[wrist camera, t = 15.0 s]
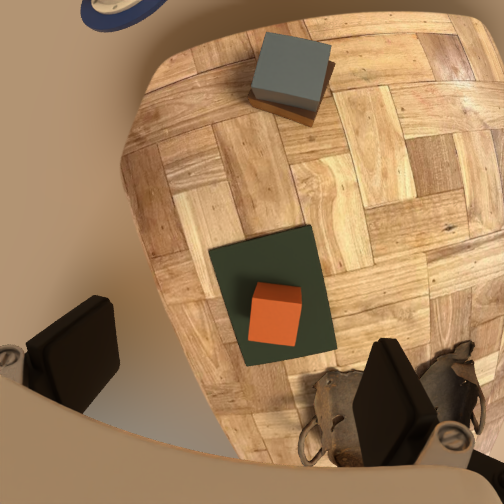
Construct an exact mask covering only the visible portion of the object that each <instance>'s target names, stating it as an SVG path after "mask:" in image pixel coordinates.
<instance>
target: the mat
mask: <svg viewBox="0 0 504 504" xmlns="http://www.w3.org/2000/svg"><path fill="white" fill-rule="evenodd" d="M209 254H210V257H211V261H212V264H213V267H214V270H215V273H216V277H217V280H218V283H219V286H220V289H221V292H222V295H223V298H224V302H225V305H226V308H227V311H228V314H229V317H230V320H231V323H232V326H233V329H234V332H235V335H236V338H237V341H238V343H239V346H240V349H241V352H242V355H243V358H244V361H245V364H246V366H254V365H260V364H266V363H272V362H278V361H283V360H289V359H294V358H299V357H304V356H309V355H313V354H318V353H323V352H327V351H332V350H336V349H337V343H336V338H335V333H334V327H333V322H332V317H331V312H330V307H329V302H328V297H327V292H326V287H325V283H324V278H323V274H322V269H321V265H320V260H319V256H318V251H317V247H316V243H315V239H314V234H313V230H312V226H311V225H307V226H303V227H299V228H295V229H291V230H287V231H283V232H279V233H275V234H271V235H267V236H263V237H259V238H255V239H251V240H247V241H243V242H240V243H236V244H232V245H228V246H224V247H220V248H216V249H212V250H210V251H209ZM258 282H262V283H270V284H278V285H287V286H295V287H301V297H302V307H301V313H300V319H299V325H298V331H297V336H296V342H295V346H287V345H279V344H271V343H263V342H256V341H249V340H248V335H249V325H250V315H251V305H252V297H253V294H254V291H255V288H256V286H257V283H258Z"/></svg>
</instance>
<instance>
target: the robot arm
mask: <svg viewBox="0 0 504 504" xmlns="http://www.w3.org/2000/svg"><path fill="white" fill-rule="evenodd" d="M140 1H142V0H91V3H92V6H93V8H94V9H95V10H96V11H98V12H99V13H101V14H108V15H110V14H116V13H119V12H122V11H125V10H127V9H129V8H131V7H133V6H134V5H136V4H137V3H139V2H140ZM26 347H27V350H28V351H27V352H26V353H25V354H24V351H23V350H22V348H20V347H19V346H16V345H3V346H0V504H504V463H503V462H500V461H498V460H496V459H494V458H491V457H489V456H487V455H485V454H483V453H481V452H478V451H476V450H474V449H473V448H474V444H475V439H474V435H473V433H472V432H471V430H470V429H469V428H468V427H466V426H465V425H463V424H461V423H459V422H456V421H444V422H441V423H440V422H439V419H438V417H437V415H438V414H437V412H436V410H435V408H434V406H433V404H432V402H431V400H430V398H429V397H428V395H427V393H426V391H425V389H424V387H423V385H422V383H421V382H420V380H419V378H418V376H417V374H416V372H415V371H414V369H413V367H412V365H411V363H410V362H409V360H408V358H407V356H406V355H405V353H404V351H403V349H402V348H401V346H400V344H399V342H398V341H397V339H392V338H380V339H379V340H378V342H374V343H373V345H372V348H371V352H370V355H369V358H368V361H367V364H366V367H365V369H364V372H363V375H362V378H361V381H360V383H359V386H358V389H357V392H356V394H355V397H354V400H353V404H352V409H353V414H354V419H355V424H356V429H357V433H358V438H359V444H360V449H361V454H362V459H363V465H364V467H310V466H294V465H282V464H272V463H263V462H255V461H248V460H241V459H235V458H229V457H224V456H218V455H213V454H208V453H203V452H199V451H194V450H190V449H186V448H182V447H177V446H173V445H170V444H166V443H163V442H159V441H156V440H152V439H149V438H146V437H143V436H140V435H137V434H133V433H130V432H127V431H125V430H121V429H119V428H116V427H113V426H111V425H108V424H105V423H103V422H100V421H98V420H95V419H93V418H90V417H88V416H86V415H83V412H84V411H85V410H86V409H87V407H88V406H89V405H90V404H91V402H92V401H93V400H94V399H95V398H96V396H97V395H98V394H99V393H100V392H101V390H102V389H103V388H104V387H105V386H106V384H107V383H108V382H109V381H110V379H111V378H112V377H113V376H114V375H115V373H116V372H117V371H118V369H119V366H120V359H119V352H118V344H117V336H116V328H115V318H114V308H113V304H112V303H111V302H110V300H109V299H108V298H106V297H102V296H97V295H93V296H92V297H90V298H89V299H87V300H86V301H84V302H83V303H81V304H80V305H78V306H77V307H76V308H74V309H73V310H71V311H70V312H68V313H67V314H65V315H64V316H62V317H61V318H60V319H58V320H57V321H55V322H54V323H53V324H51V325H50V326H48V327H47V328H46V329H44V330H43V331H41V332H40V333H39V334H37V335H36V336H35V337H33V338H32V339H30V340H29V341H28V342H26Z"/></svg>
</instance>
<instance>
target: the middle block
mask: <svg viewBox="0 0 504 504" xmlns="http://www.w3.org/2000/svg"><path fill="white" fill-rule="evenodd" d="M330 51H331V45H328V44H324V43H320V42H316V41H312V40H307V39H302V38H298V37H293V36H287V35H282V34H276V33H270V32H266V34H265V37H264V41H263V44H262V48H261V51H260V55H259V59H258V62H257V66H256V70H255V73H254V77H253V81H252V84H251V88H252V90H253V93H254V95H255V97H256V99H261V100H266V101H271V102H276V103H280V104H285V105H289V106H294V107H298V108H302V109H306V110H310V111H314V112H316V110H317V107H318V104H319V101H320V97H321V92H322V88H323V83H324V79H325V74H326V70H327V65H328V60H329V56H330Z"/></svg>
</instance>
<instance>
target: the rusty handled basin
mask: <svg viewBox="0 0 504 504" xmlns="http://www.w3.org/2000/svg"><path fill="white" fill-rule="evenodd" d="M474 347H475V343H474V342H472V341H469V342H467V343H463V344H460V345H459V346H458V347H457V348H455V352H454V353H450V354H444V355H442V356H440V357H438V358H437V360H438V361H437V362H435V363H434V364H433V365H431V366H430V367H429V368H428V370H427V371H426V372H425V373H424V375H423V376H422V377H421V378H420V379H419V380H420V382H421V383H422V385H423V387H424V389H425V391H426V393H427V395H428V397H429V398H430V400H431V402H432V404H433V406H434V408H435V407H438V409H437V410H436V412H437V414H438V413H439V414H438V415H437V417H438V419H439V422H440V423H441V422H444V421H456V422H459V423H461V424H463V425H465V426H466V427H468V428H470V419H471V421H472V423H473V425H474V430H475V432H476V435H480V434H481V433H482V431H483V429H484V425H485V419H486V406H485V398H484V395H483V393H482V391H481V388H480V386H479V382H478V380H477V377H476V374H475V368H474V361H473V360H470V361H467V362H465V361H466V360H467V359H468V358H469V357H471V353H472V351H473V349H474ZM362 375H363V373H361V372H357V371H354V372H349V373H347V374H342V373H340V372H338V371H335V372H332V371H329V372H327V373H326V374H325V375H324V376H323V377H322V378H321V379H320V380H319V381H318V382H316V383H315V385H313V388H315V389H316V390H317V393H316V395H315V398H314V408H315V412H316V415H315V416H314V417H313V419H312V420H311V421H310V422H309V423H308V424H307V425H306V426H305V427H304V428H303V430H302V432H301V434H300V437H299V442H298V454H299V457H300V459H301V462H302V464H303V465H304V466H310V467H312V466H313V465H315V464H316V463H317V461H318V460H319V459H320V458H321V457H322V456H323V455H324V454H325V452H326V451H328V458H329V460H330V461H331V462H332V463H333V464H335V465H336V466H337V467H364V465H363V459H362V454H361V449H360V444H359V438H358V433H357V429H356V424H355V419H354V414H353V409H352V404H353V400H354V397H355V394H356V392H357V389H358V386H359V383H360V381H361V378H362ZM329 380H330V381H331V383H330V384H328V382H329ZM465 381H466V382H465ZM464 382H465V383H464ZM478 396H479V398H480V404H481V418H480V424H478V422H477V420H476V418H475V415H474V413H473V409H474V407H475V406H476V403H477V397H478ZM337 415H342V416H343V417H344V420H343V421H341V422H339V423H338V424H337V425H336V426H335V427H334V430H332V431H331V428H332V426H333V422H332V418H334V417H335V416H337ZM317 424H319V426H320V427H321V430H322V438H321V443H322V447H321V449H320V450H319V452H318V453H317V454H316V455H315V457H314V458H313V459H312V460H311V461H307V459H306V456H305V453H304V442H305V437H306V436H307V434H308V432H309V430H310V429H311V428H312V427H313V426H315V425H317Z"/></svg>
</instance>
